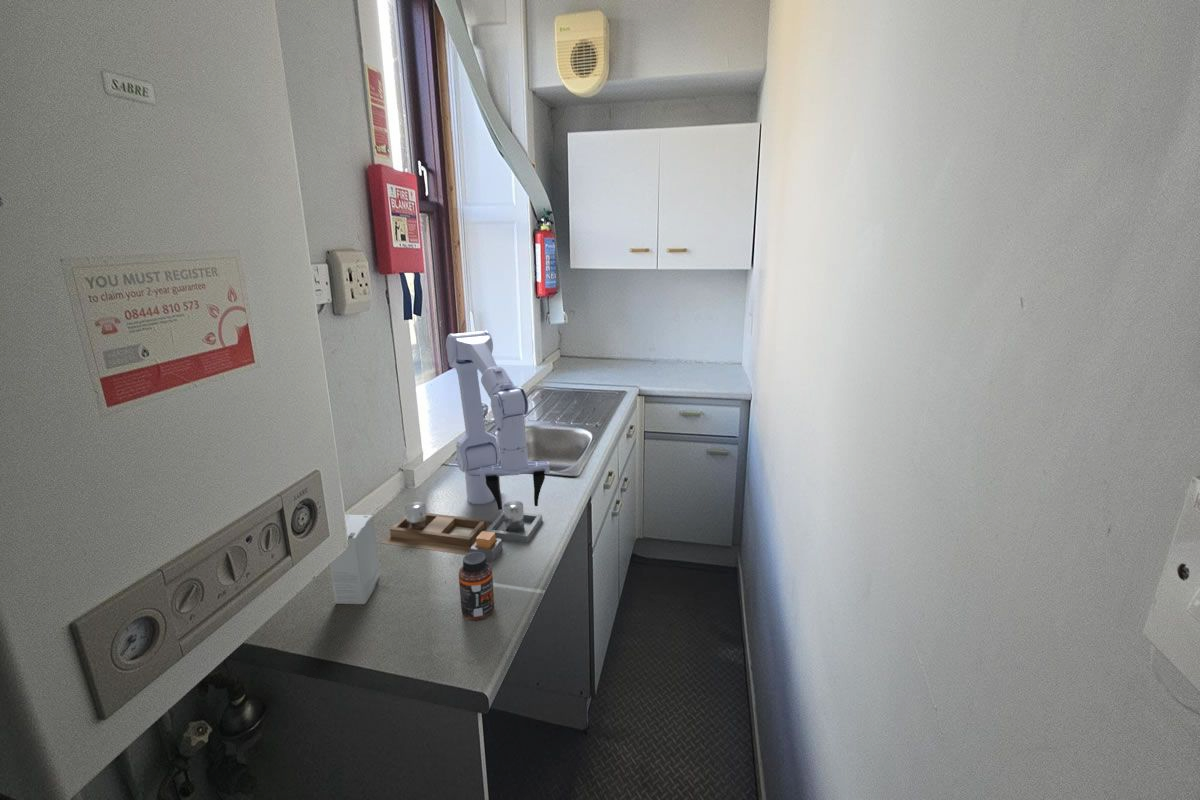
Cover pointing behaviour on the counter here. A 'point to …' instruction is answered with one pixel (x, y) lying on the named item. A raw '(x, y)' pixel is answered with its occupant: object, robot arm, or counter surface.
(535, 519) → the shallow grey tray
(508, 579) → the counter surface
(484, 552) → the button housing
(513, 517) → the billet
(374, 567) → the skincare box
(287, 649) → the counter surface
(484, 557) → the supplement bottle
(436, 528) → the wooden compartment tray
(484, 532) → the button
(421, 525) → the cylinder
